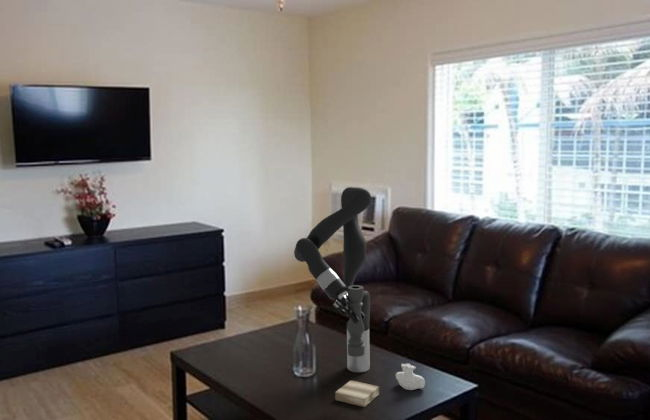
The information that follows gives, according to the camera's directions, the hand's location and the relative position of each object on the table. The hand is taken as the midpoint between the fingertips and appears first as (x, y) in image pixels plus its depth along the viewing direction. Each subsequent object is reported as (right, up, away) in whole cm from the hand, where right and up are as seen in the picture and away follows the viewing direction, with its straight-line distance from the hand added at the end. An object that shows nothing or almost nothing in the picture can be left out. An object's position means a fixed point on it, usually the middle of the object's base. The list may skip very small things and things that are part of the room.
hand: (360, 320), depth 215 cm
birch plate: (-1, -29, +5) cm, 30 cm away
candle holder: (-1, -13, +3) cm, 13 cm away
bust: (+19, -28, +11) cm, 36 cm away
